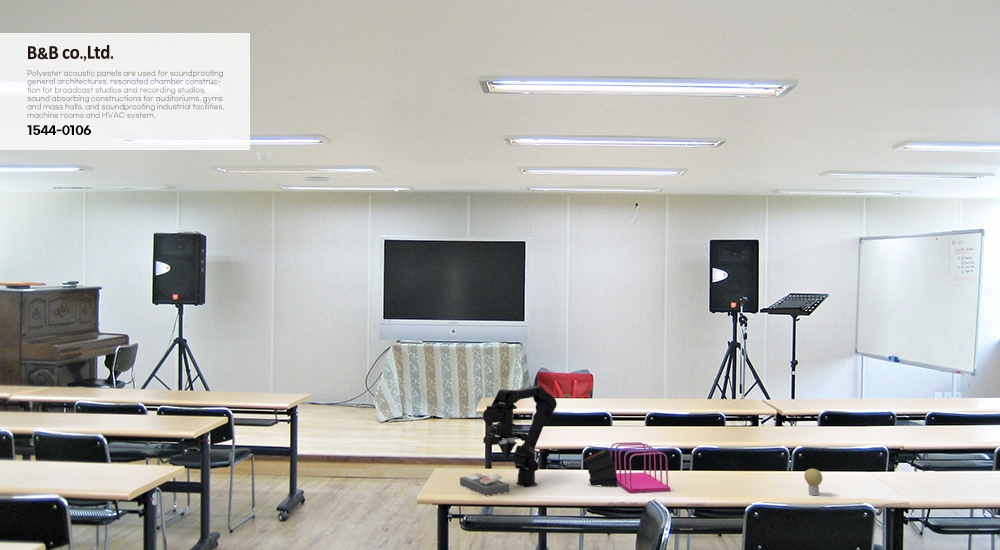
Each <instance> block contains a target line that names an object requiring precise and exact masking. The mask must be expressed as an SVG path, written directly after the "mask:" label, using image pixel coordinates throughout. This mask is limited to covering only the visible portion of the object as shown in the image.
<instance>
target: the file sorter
mask: <svg viewBox="0 0 1000 550" xmlns="http://www.w3.org/2000/svg"><path fill="white" fill-rule="evenodd" d="M614 446H616V447H615V449H614V464H615V466H614V467H615V471H616V476H617V481H616V482H617V483H618V484H617V485H618V486H620V485H621V486H622V487H621V486H620V487H621V488H622V489H624V490H625V491H627V492H628V493H630V494H633V493H634V494H635V493H636V494H637V493H658V492H660V493H661V492H671V487H670V486H669V478H668V477H669V476H668V475H669V473H668V471H669V469H668V456H667V455H666V453H664V452H660V450H658V449H655V448H654V447H652V446H651V445H648V444H646V443H643V442H639V441H638V442H637V441H634V442H614V443H612V445H611V446H610V453H611V454H610V455H611V457H612V458H613V447H614ZM621 446H623V447H624V446H632V447H624V448H621V449H620V450H619V452H618V465H617V450H618V448H619V447H621ZM633 446H634V447H633ZM636 449H639V450H636ZM624 450H627V451H626V452H625V453H624V457H623V458H624V460H623V462H624V464H623V465H624V469H623V470H624V472H623V473H622V465H621V462H622V461H621V453H622V451H624ZM628 450H629V451H628ZM640 452H641V453H640ZM629 453H633V454H632V455H630V457H629V472H627V461H626V459H627V455H628V454H629ZM646 455H647V456H648V455H649V456H648V465H649V466H648V468H649V469H648V471H649V472H646V471H647V470H646V468H647V467H646V466H647V465H646ZM652 455H653V463H654V464H653V465H654V468H653V469H654V476H652V473H651V472H652V467H651V465H652V464H651V462H652V461H651V460H652V459H651V457H652ZM656 455H659V471H660V473H659V474H660V475H659V476H660V479H657V461H656ZM662 455H663V456H664V458H665V482H666V483H664V482H663V469H662V468H663V466H662V465H663V464H662V461H663V460H662ZM635 456H643V461H644V463H643V472H632V459H633V457H635ZM617 466H618V467H619V469H618V468H617ZM617 469H618V470H619V473H618V471H617Z"/></svg>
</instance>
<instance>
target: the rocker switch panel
mask: <svg viewBox="0 0 1000 550" xmlns="http://www.w3.org/2000/svg"><path fill="white" fill-rule="evenodd" d="M480 479H483V478H477V477H474V476H472V475H467V476H461V477H459V484H460V486H462V487H464V486H465V487H464V488H466V487H467V488H466V489H468V488H469V489H468V490H471V489H472V490H471V491H473V490H474V491H473V492H475V491H477V492H476V493H478V492H479V493H478V494H480V493H481V494H480V495H482V494H484V495H483V496H485V495H486V496H485V497H488V496H487V495H490V496H494V495H493V494H495V495H499V494H498V493H501V494H504V492H506V493H509V492H510V483H508V482H504V481H502V480H501V479H500V480H497V481H494V482H491V483H488V484H483V483H481V482H480Z"/></svg>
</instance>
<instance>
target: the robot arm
mask: <svg viewBox="0 0 1000 550" xmlns="http://www.w3.org/2000/svg"><path fill="white" fill-rule="evenodd" d="M529 398H532V399H533V402H534V403H536V404H535V415H534V418H533V420H532V423H531V425H530V426H529V427H530V428H529V429H528V433H527V432H522V431H514V427H515V426H516V423H514V410H516V409H517V408H518V407H517V406H516V405H515V404H516V403H517V402H518V401H520V400H524V399H529ZM557 403H558V402H557V399H556V398H555V397H553V395H551V394H550V393H549V392H548V391H547V390H545V389H544V387H542V386H538V385H533V386H530V387H524V388H523V387H522V388H519V389H503V388H501V389H499V390H498V391H497V393H496V396H495V397H494V399H493V402H492V403H491V405H487V406H486V409H485V410H484V411H483V413H482V418H483V420H484V423H486V424H489V425H488V426H487V434H488V435H485V436H484V437H483V443H482V444H486V445H488V446H497V445H498V447H499V448H500V450H501V451H500V452H501V453H502V455H503V459H504V460H505V461H508V460H509V457H510V455H511V453H512V451H513V449H514V447H515V446H516V445H517V446H516V448H515V451H514V452H513V457H512V459H513V463H514V466H515V469H518V473H517V482H516V485H519V486H522V487H525V488H526V487H531V486H537V485H538V483H537V482H536V472H537V471H539V467H540V465H539V464H538V462H537V461H536V460H535V458H536V451H535V448H536V445H537V443H538V441H539V438H540V435H541V433H542V431H543V428H544V426H545V423H546V421H547V419H548V417H550V416H552V414H553V413H554V412H555V410H556V408H557V405H558V404H557ZM495 423H496V426H494V425H490V424H495ZM516 440H521V441H522V442H523V443H522V445H518V442H517V441H516Z"/></svg>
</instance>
